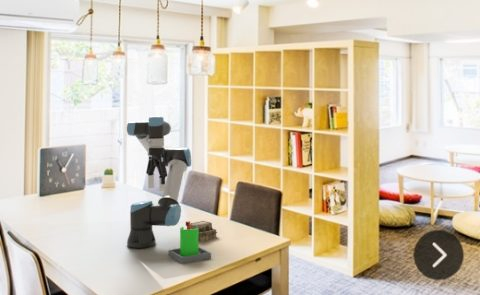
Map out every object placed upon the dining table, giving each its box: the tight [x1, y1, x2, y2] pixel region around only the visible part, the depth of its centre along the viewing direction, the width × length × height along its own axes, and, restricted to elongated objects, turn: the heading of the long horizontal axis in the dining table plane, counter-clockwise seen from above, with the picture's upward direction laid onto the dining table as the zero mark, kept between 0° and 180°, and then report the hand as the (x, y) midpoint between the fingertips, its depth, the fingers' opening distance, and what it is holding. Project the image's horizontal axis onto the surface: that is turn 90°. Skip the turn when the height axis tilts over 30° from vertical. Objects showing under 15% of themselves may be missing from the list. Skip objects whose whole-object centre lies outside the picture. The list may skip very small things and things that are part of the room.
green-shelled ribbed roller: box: [179, 220, 199, 257], centre depth 206 cm, size 9×8×18 cm
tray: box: [168, 246, 212, 265], centre depth 207 cm, size 16×16×3 cm
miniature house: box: [190, 220, 218, 243], centre depth 235 cm, size 15×14×11 cm
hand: (156, 189), depth 206 cm, fingers open, 13 cm apart
